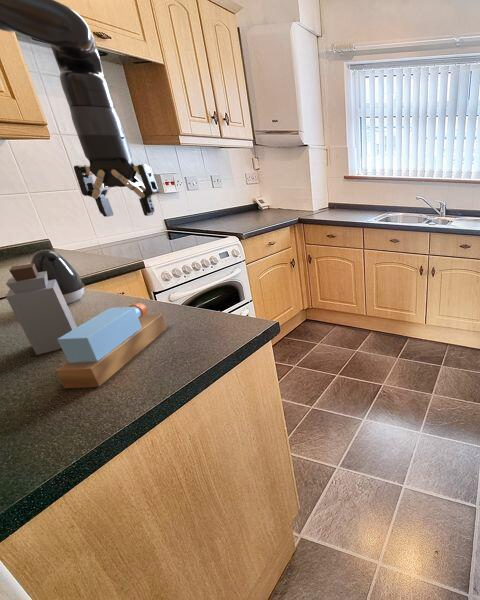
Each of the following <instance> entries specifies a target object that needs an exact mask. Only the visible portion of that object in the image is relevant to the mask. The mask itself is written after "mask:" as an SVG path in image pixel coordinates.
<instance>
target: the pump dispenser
mask: <svg viewBox="0 0 480 600" xmlns="http://www.w3.org/2000/svg"><path fill="white" fill-rule="evenodd" d="M33 263H34V264H35V267H36V270H37V272H44V271H47V278H48V281H49V280H55V279H56V281H57V284H58V286H59V288H60V290H61V292H62V295H63V297H64V299H65V301H66V304H67V305H69V304H72V303H75V302H77V301H78V300H80V299H81V298H82V297H83V296H84V293H85V283H84V280H83V278H81V276H80V275H79V273H78V272H77V271H76V269H75V267H73V265H71V263H70V262H69V261H68V260H67V259H66V258H65V257H63V256H62V255H61V254H59V253H58V252H56V251H54V250H52V249H41V250H38V251H36V252H35V253H34V254H33V255H32V257H31V260H30V264H33Z"/></svg>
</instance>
